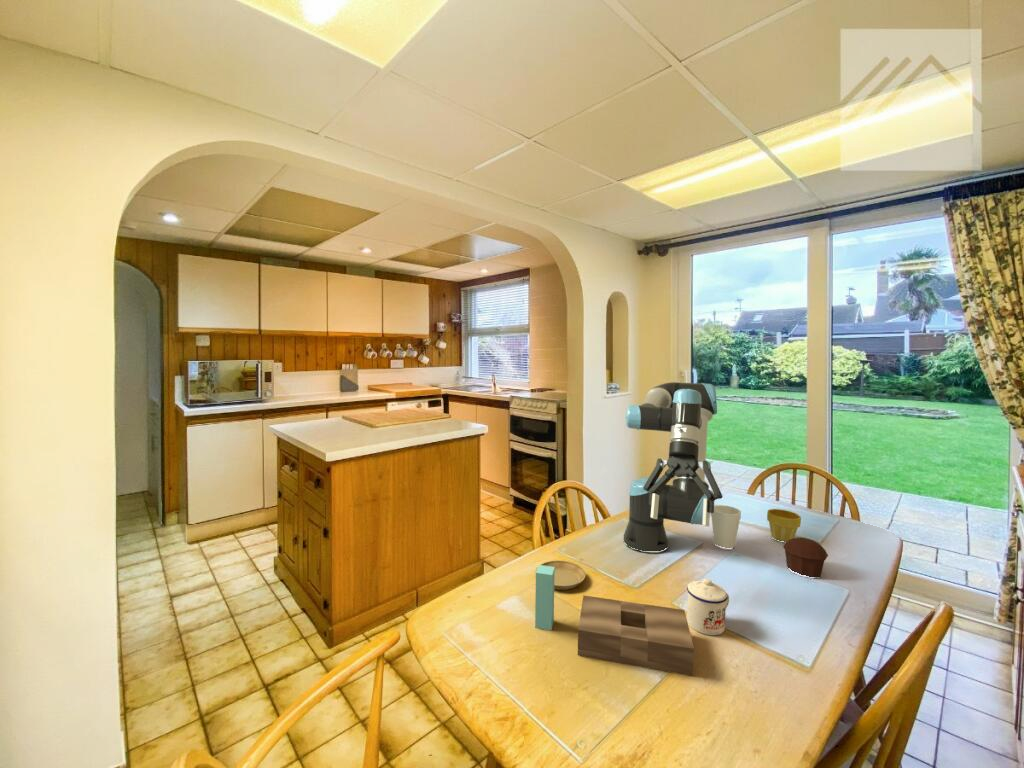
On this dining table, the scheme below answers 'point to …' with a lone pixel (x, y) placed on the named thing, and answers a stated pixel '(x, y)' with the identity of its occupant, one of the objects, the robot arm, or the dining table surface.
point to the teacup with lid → (706, 607)
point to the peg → (544, 597)
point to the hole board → (636, 635)
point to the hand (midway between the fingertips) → (678, 522)
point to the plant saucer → (566, 574)
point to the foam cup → (725, 525)
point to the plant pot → (783, 524)
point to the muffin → (805, 556)
